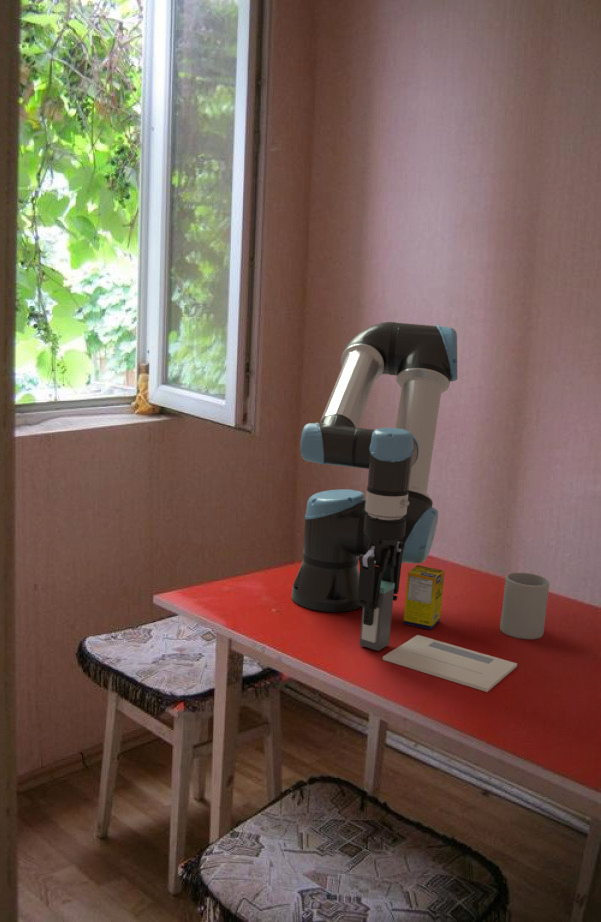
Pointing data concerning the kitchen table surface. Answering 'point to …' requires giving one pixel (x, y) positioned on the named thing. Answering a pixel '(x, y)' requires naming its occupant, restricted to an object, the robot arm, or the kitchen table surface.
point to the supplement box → (424, 597)
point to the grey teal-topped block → (382, 617)
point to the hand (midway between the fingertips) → (375, 636)
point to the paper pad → (451, 662)
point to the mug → (524, 605)
